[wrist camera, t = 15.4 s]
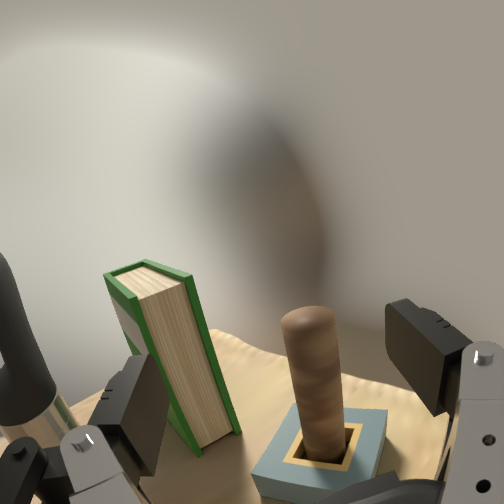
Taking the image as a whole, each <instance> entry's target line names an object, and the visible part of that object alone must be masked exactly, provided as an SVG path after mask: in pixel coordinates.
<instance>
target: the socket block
mask: <svg viewBox="0 0 504 504" xmlns="http://www.w3.org/2000/svg"><path fill="white" fill-rule="evenodd" d="M343 410H344V426H345V445H346V455H345V457H344V460H343V463H342V465H339V464H330V463H323V462H316V461H309V460H307V457H306V451H305V446H304V441H303V435H302V430H301V425H300V419H299V414H298V409H297V404H296V403H293V405H292V406H291V408H290V410H289V412H288V414H287V415H286V417H285V419H284V420H283V422H282V424H281V426H280V427H279V429H278V431H277V432H276V434H275V436H274V437H273V439H272V441H271V442H270V444H269V445H268V447H267V449H266V450H265V452H264V454H263V455H262V457H261V458H260V460H259V461H258V463H257V465H256V466H255V468H254V469H253V471H252V472H251V475H252V478H253V480H254V482H255V485H256V487H257V489H258V492H259V494H260V495H261V496H264V497H268V498H272V499H276V500H280V501H285V502H289V503H294V504H313V503H316V502H318V501H320V500H322V499H324V498H326V497H328V496H331V495H333V494H335V493H337V492H339V491H341V490H343V489H345V488H346V487H348V486H350V485H352V484H356V483H359V482H362V481H365V480H368V479H371V478H374V477H376V473H377V469H378V466H379V462H380V458H381V454H382V450H383V446H384V442H385V437H386V427H387V412H388V410H378V409H355V408H343Z"/></svg>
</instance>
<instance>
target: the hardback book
mask: <svg viewBox="0 0 504 504" xmlns="http://www.w3.org/2000/svg"><path fill="white" fill-rule="evenodd" d="M103 276H104V279H105V282H106V285H107V288H108V291H109V294H110V297H111V300H112V303H113V306H114V308H115V311H116V314H117V316H118V319H119V322H120V324H121V327H122V330H123V332H124V335H125V337H126V340H127V342H128V345H129V347H130V350H131V352H132V355H133V356H135V355H143V354H152V355H153V357H154V358H155V361H156V363H157V366H158V368H159V370H160V373H161V375H162V378H163V380H164V382H165V385H166V387H167V389H168V393H169V399H170V405H169V410H168V414H167V418H166V419H167V420H168V421H169V423H170V424H171V425H172V426H173V428H174V429H175V430H176V432H177V433H178V434H179V435H180V437H181V438H182V439H183V440H184V442H185V443H186V444H187V445H188V447H189V448H190V449H191V450H192V451H193V453H194V454H195V455H196V456H197V457H200V456H202V455H203V453H202V451H201V448H203V447H204V446H206V445H208V444H210V443H212V442H213V441H215V440H217V439H219V438H221V437H222V436H224V435H226V434H227V433H229V432H231V431H232V432H233V433H235V434H236V435H238V434H240V433H242V431H241V428H240V425H239V422H238V419H237V417H236V414H235V411H234V408H233V405H232V402H231V399H230V396H229V393H228V390H227V387H226V384H225V381H224V378H223V375H222V372H221V369H220V366H219V363H218V360H217V357H216V354H215V350H214V347H213V344H212V341H211V338H210V334H209V331H208V328H207V324H206V321H205V318H204V314H203V311H202V308H201V304H200V301H199V297H198V294H197V290H196V286H195V283H194V279H193V276H192V274H189V273H186V272H183V271H180V270H176V269H174V268H171V267H168V266H165V265H162V264H159V263H156V262H153V261H150V260H148V259H145V260H142V261H139V262H136V263H133V264H131V265H128V266H125V267H122V268H119V269H117V270H114V271H111V272H108V273H105V274H103Z"/></svg>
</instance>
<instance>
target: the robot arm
mask: <svg viewBox="0 0 504 504" xmlns="http://www.w3.org/2000/svg"><path fill="white" fill-rule="evenodd" d="M385 343H386V349H387V353H388V356H389V358H390V360H391V361H392V362H393V364H394V365H395V366H396V367H397V369H398V370H399V371H400V373H401V374H402V375H403V376H404V378H405V379H406V380H407V382H408V383H409V384H410V386H411V387H412V388H413V390H414V391H415V392H416V394H417V395H418V396H419V398H420V399H421V400H422V402H423V403H424V404H425V406H426V407H427V409H428V410H429V411H430V413H431V414H432V415H433V417H435V416H438V415H440V414H442V413H444V412H447V413H448V414H449V419H448V422H447V428H446V433H445V438H444V443H443V448H442V452H441V456H440V461H439V465H438V468H437V472H436V475H435V478H434V480H429V479H408V480H400V481H399V479H398V477H397V475H396V473H395V471H391V472H388V473H386V474H383V475H380V476H377V477H374V478H371V479H368V480H365V481H362V482H359V483H356V484H352V485H350V486H348V487H346V488H345V489H343V490H341V491H339V492H337V493H335V494H333V495H331V496H328V497H326V498H324V499H322V500H320V501H318V502H316V503H313V504H504V349H503V348H502V347H501V346H500V345H498V344H496V343H493V342H489V341H479V342H474V343H473V342H472V341H471V340H470V339H468V338H467V337H466V336H465V335H463V334H462V333H461V332H460V331H459V330H457V329H456V328H455V327H454V326H451V324H450V323H449V322H447V321H446V320H444V319H443V318H442V317H441V316H440V315H438V314H437V313H436V312H434V311H431V310H428V309H426V308H419V307H417V306H416V305H415V304H414V303H413V302H411V301H410V300H409V299H407V298H405V299H402V300H399V301H396V302H392V303H389V304H387V305H386V307H385ZM0 352H1V354H2V357H3V360H4V362H5V364H4V365H3V367H2V368H1V369H0V431H1V432H2V433H3V435H4V436H5V438H6V439H7V440H8V442H9V443H10V444H9V445H8V446H7V448H6V449H5V451H4V453H3V454H2V456H1V458H0V504H30V503H31V500H32V498H33V495H34V494H35V495H36V496H37V497H38V498H39V499H40V500H41V501H42V503H41V504H153V503H152V501H151V500H150V498H149V497H148V496H147V494H146V493H145V491H144V490H143V488H142V487H141V486H140V485H139V480H140V476H154V474H155V469H156V464H157V459H158V455H159V450H160V445H161V441H162V436H163V432H164V427H165V423H166V418H167V414H168V410H169V405H170V399H169V393H168V389H167V387H166V385H165V382H164V380H163V378H162V375H161V373H160V370H159V368H158V366H157V363H156V361H155V358H154V357H153V355H152V354H143V355H135V356H130V357H129V358H128V360H127V362H126V364H125V366H124V368H123V370H122V371H119V372H118V373H117V374H116V375H114V376H113V377H112V378H111V379H110V380H109V382H108V384H107V386H106V388H105V392H103V394H102V396H101V400H99V401H98V403H97V405H96V407H95V409H94V411H93V413H92V415H91V417H90V419H89V421H88V424H87V425H83V426H80V425H79V423H78V422H77V420H76V419H75V417H74V415H73V414H72V412H71V410H70V409H69V407H68V406H67V404H66V402H65V401H64V399H63V397H62V395H61V394H60V392H59V390H58V388H57V387H56V384H55V382H54V381H53V379H52V377H51V375H50V373H49V371H48V368H47V366H46V363H45V361H44V358H43V356H42V354H41V351H40V349H39V347H38V345H37V342H36V340H35V338H34V335H33V333H32V330H31V328H30V325H29V322H28V319H27V316H26V313H25V310H24V307H23V304H22V301H21V298H20V294H19V291H18V288H17V285H16V282H15V279H14V276H13V274H12V271H11V269H10V267H9V265H8V263H7V261H6V259H5V258H4V256H3V255H2V254H1V253H0Z"/></svg>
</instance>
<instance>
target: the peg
mask: <svg viewBox="0 0 504 504" xmlns="http://www.w3.org/2000/svg"><path fill="white" fill-rule="evenodd" d="M281 327H282V332H283V337H284V342H285V347H286V352H287V357H288V363H289V368H290V373H291V378H292V383H293V388H294V393H295V398H296V404H297V409H298V414H299V419H300V425H301V430H302V435H303V441H304V446H305V451H306V457H307V460H309V461H316V462H323V463H330V464H339V465H342V463H343V460H344V457H345V455H346V445H345V426H344V410H343V396H342V383H341V372H340V362H339V351H338V341H337V333H336V323H335V315H334V312H333V311H332V310H331V309H329V308H327V307H323V306H308V307H303V308H299V309H296V310H293V311H291V312H289V313H288V314H286V315H285V316H284V317H283V318H282V320H281Z"/></svg>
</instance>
